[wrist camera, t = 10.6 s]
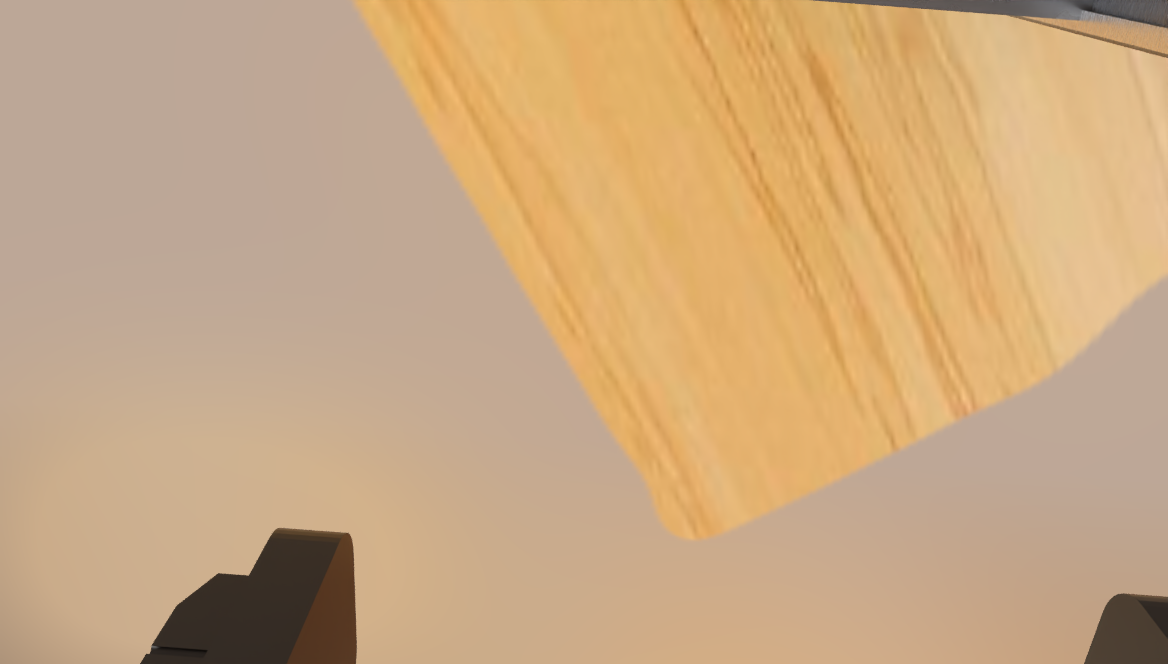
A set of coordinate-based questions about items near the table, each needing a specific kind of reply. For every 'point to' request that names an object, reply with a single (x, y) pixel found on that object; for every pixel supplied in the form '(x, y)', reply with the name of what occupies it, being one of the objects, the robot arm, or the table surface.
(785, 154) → the table surface
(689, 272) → the table surface
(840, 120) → the table surface
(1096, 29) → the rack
